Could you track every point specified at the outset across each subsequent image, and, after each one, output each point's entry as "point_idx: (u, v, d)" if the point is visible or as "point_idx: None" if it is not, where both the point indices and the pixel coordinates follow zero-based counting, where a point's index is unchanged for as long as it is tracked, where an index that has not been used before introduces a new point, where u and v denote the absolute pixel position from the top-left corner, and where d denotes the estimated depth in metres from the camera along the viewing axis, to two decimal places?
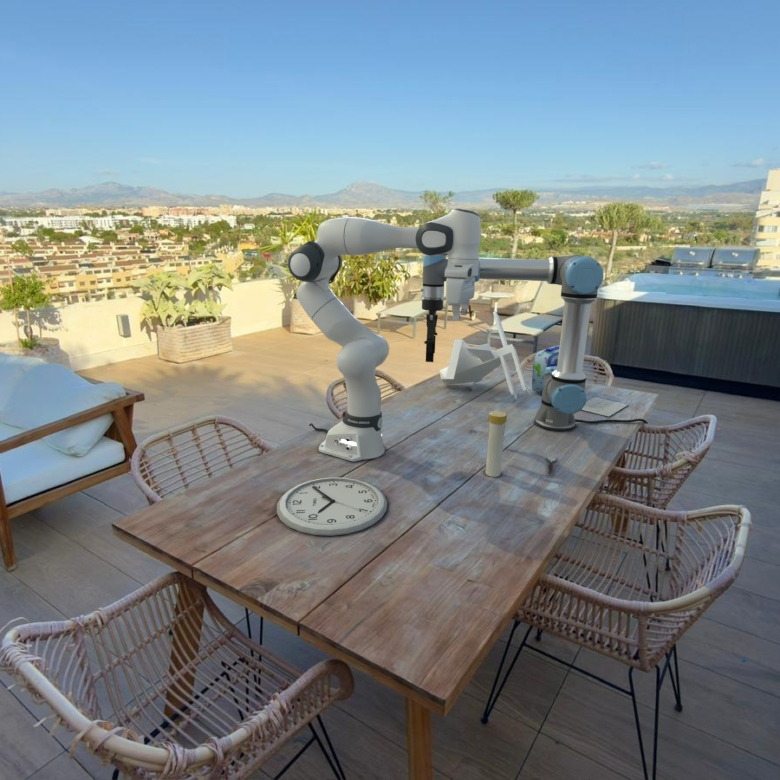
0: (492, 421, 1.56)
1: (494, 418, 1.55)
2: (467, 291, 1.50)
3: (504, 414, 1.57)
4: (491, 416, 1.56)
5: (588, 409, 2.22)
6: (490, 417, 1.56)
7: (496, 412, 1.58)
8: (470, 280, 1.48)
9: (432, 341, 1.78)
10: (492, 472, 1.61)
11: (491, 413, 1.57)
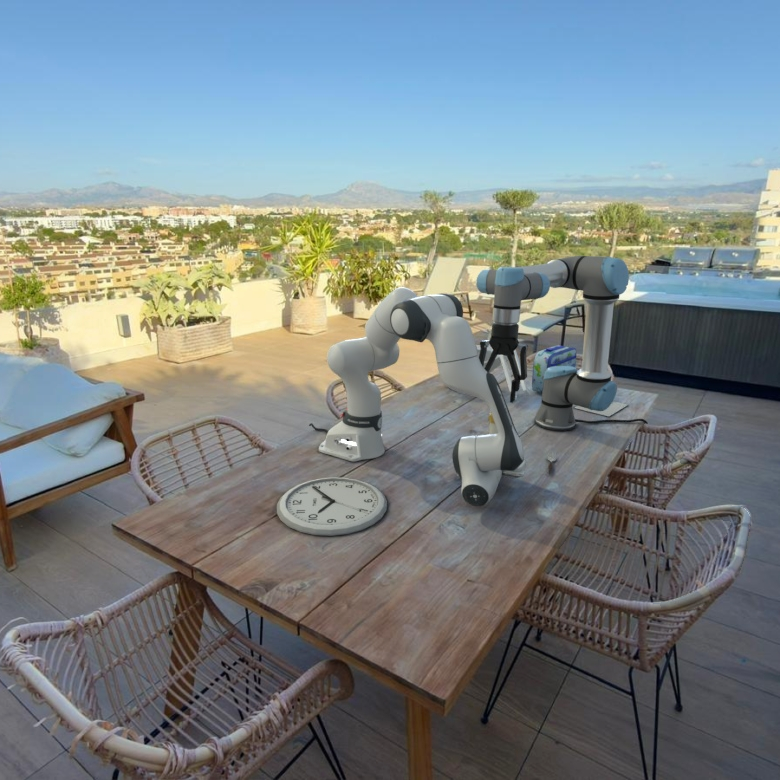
0: (492, 421, 1.56)
1: None
2: None
3: None
4: (491, 416, 1.56)
5: (588, 409, 2.22)
6: (490, 417, 1.56)
7: None
8: None
9: None
10: None
11: None
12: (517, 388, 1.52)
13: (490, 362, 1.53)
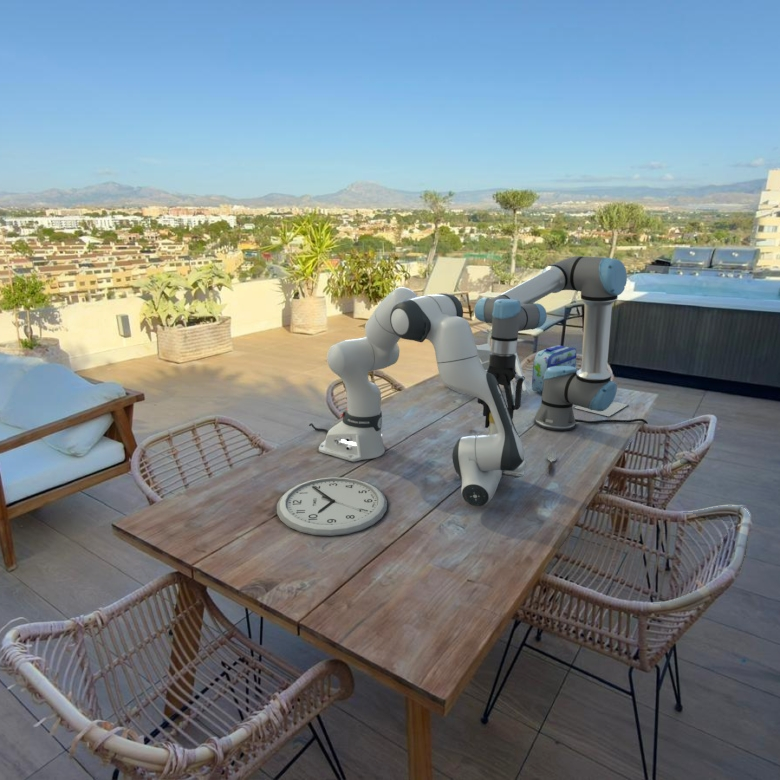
0: (492, 421, 1.56)
1: None
2: None
3: None
4: (491, 416, 1.56)
5: (588, 409, 2.22)
6: (490, 417, 1.56)
7: None
8: None
9: None
10: None
11: None
12: (511, 417, 1.55)
13: None
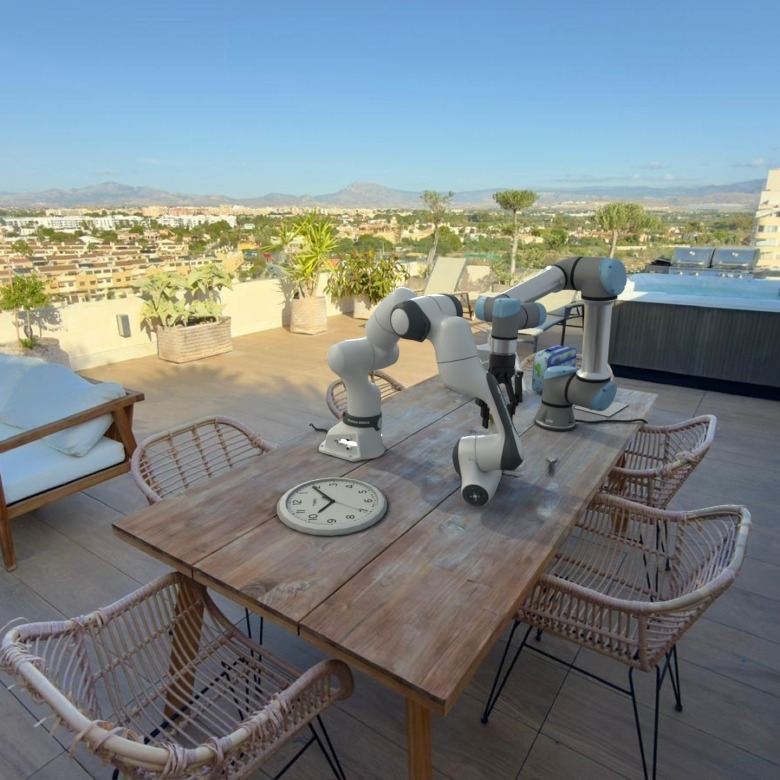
0: None
1: None
2: None
3: None
4: None
5: (588, 409, 2.22)
6: None
7: None
8: None
9: (478, 404, 1.53)
10: None
11: None
12: (514, 411, 1.58)
13: None
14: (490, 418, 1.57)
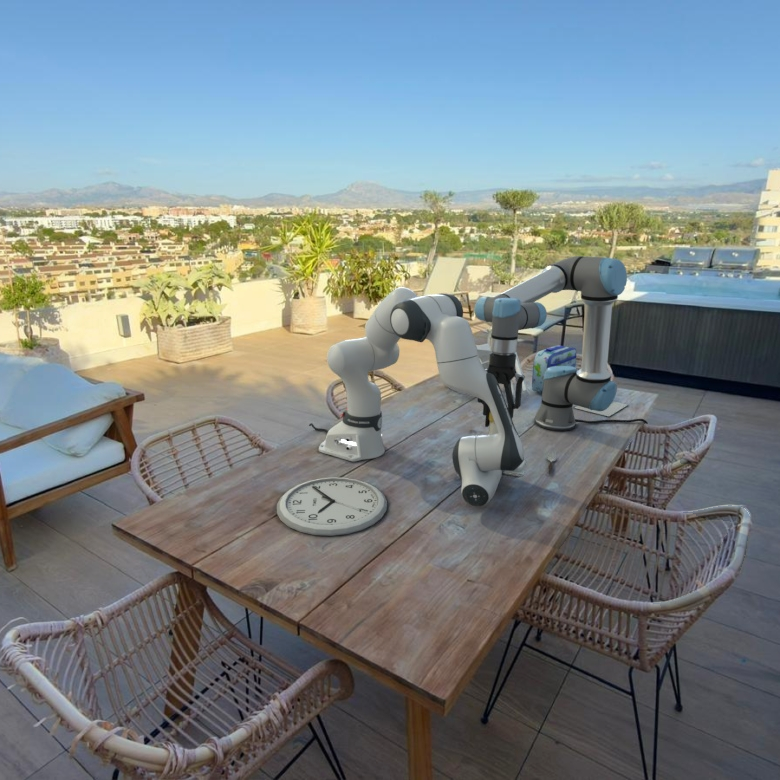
0: None
1: None
2: None
3: None
4: None
5: (588, 409, 2.22)
6: None
7: None
8: None
9: None
10: None
11: None
12: (511, 416, 1.55)
13: None
14: (490, 418, 1.57)
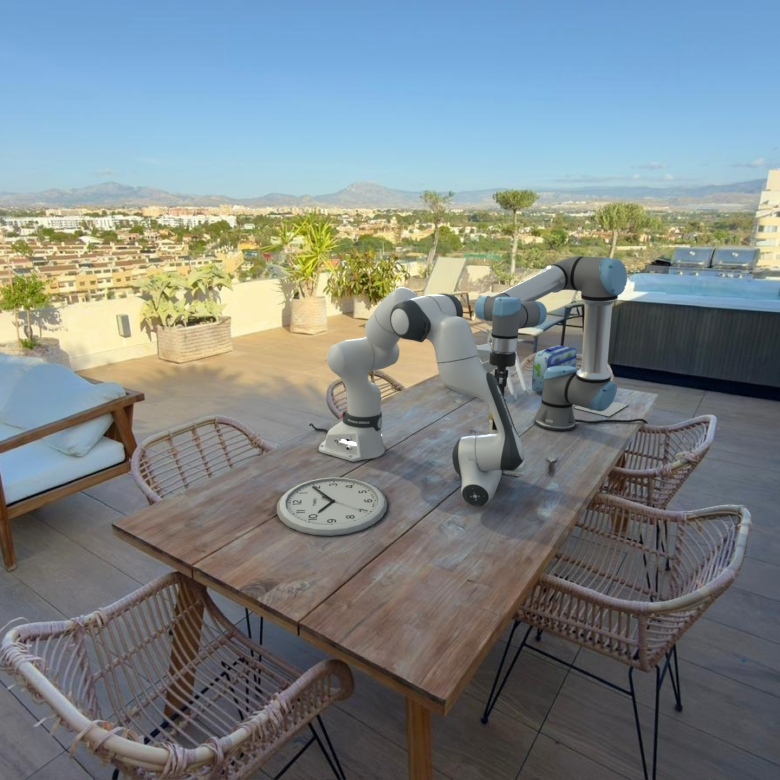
0: None
1: None
2: None
3: None
4: None
5: (588, 409, 2.22)
6: None
7: None
8: None
9: None
10: None
11: None
12: None
13: None
14: None
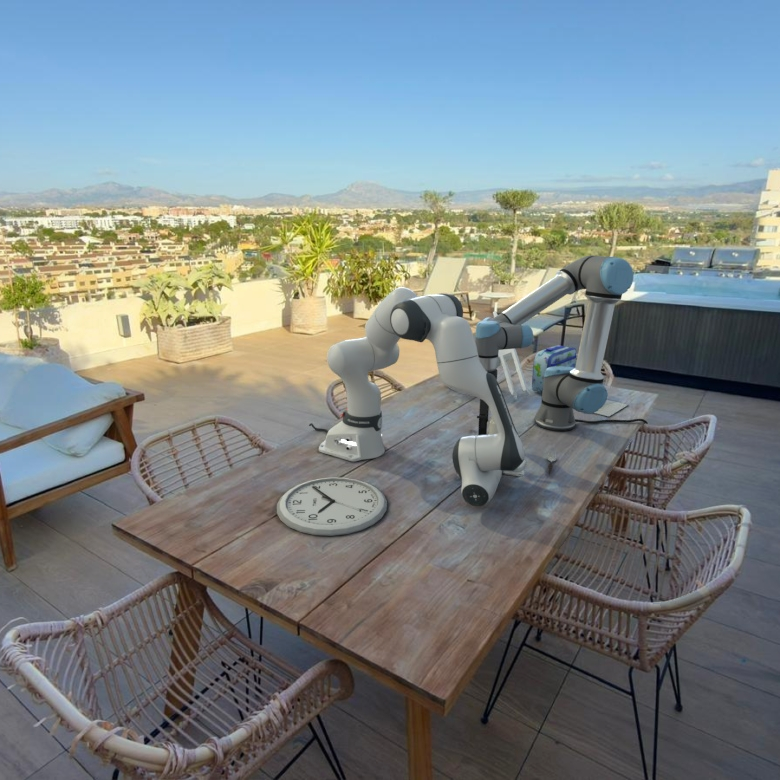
0: None
1: None
2: None
3: None
4: None
5: None
6: None
7: None
8: None
9: (485, 417, 1.67)
10: None
11: None
12: None
13: None
14: None
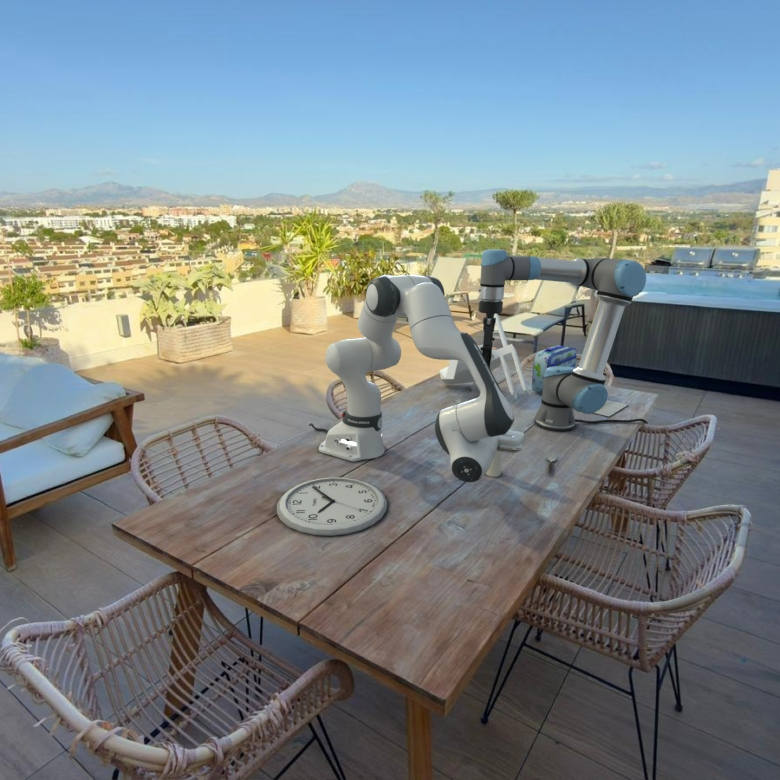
0: None
1: None
2: None
3: None
4: None
5: None
6: None
7: None
8: None
9: (489, 347, 1.60)
10: (492, 472, 1.61)
11: None
12: None
13: None
14: None
